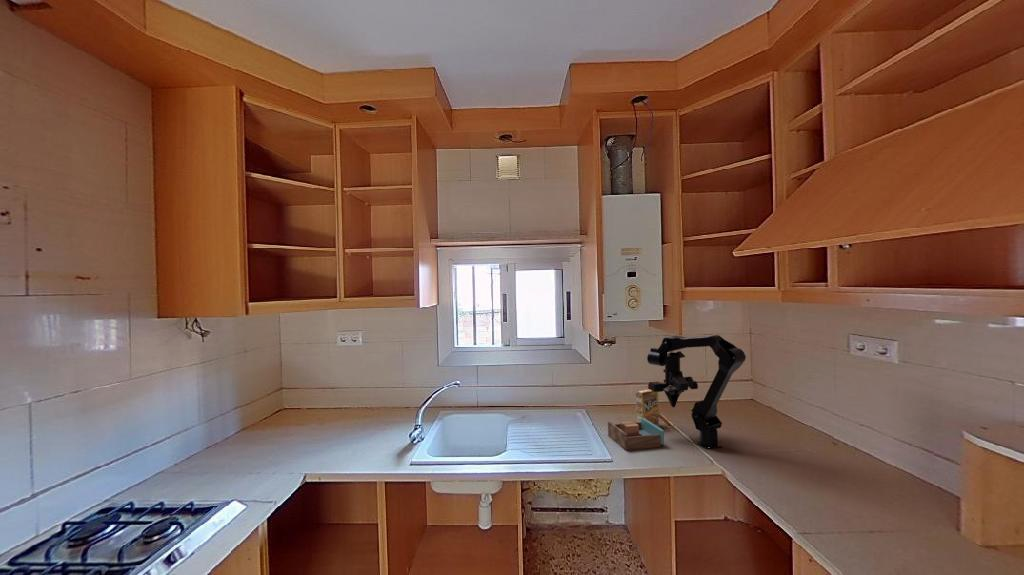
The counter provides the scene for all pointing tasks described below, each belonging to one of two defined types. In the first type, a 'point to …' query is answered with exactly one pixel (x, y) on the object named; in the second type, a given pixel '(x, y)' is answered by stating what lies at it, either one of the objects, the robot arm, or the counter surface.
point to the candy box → (647, 406)
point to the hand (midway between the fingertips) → (673, 407)
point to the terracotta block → (630, 428)
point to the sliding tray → (650, 429)
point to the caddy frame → (632, 438)
